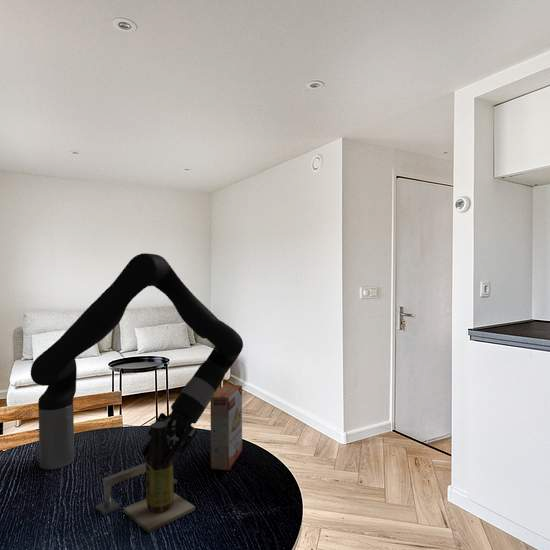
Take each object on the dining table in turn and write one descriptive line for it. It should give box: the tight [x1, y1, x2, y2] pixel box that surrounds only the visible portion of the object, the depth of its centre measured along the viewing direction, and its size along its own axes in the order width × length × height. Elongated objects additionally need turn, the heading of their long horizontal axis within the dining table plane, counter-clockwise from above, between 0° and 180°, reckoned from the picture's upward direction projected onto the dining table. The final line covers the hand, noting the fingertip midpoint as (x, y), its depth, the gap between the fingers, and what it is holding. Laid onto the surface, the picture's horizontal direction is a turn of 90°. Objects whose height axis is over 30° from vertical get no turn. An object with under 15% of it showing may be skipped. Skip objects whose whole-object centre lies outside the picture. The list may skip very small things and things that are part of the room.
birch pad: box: [122, 492, 196, 534], centre depth 98 cm, size 12×12×1 cm
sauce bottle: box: [145, 421, 175, 512], centre depth 99 cm, size 7×6×20 cm
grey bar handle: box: [95, 462, 178, 516], centre depth 105 cm, size 4×20×7 cm, turn 136°
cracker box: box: [210, 384, 243, 471], centre depth 125 cm, size 14×6×21 cm, turn 168°
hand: (152, 460), depth 97 cm, fingers open, 7 cm apart
